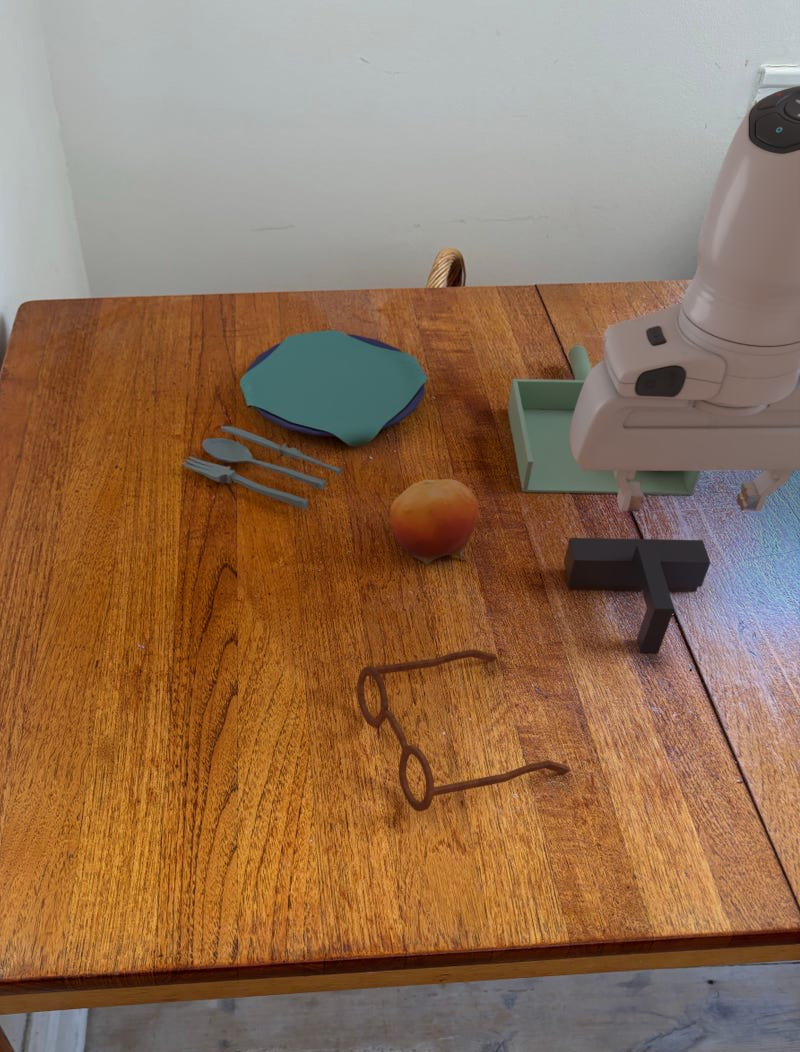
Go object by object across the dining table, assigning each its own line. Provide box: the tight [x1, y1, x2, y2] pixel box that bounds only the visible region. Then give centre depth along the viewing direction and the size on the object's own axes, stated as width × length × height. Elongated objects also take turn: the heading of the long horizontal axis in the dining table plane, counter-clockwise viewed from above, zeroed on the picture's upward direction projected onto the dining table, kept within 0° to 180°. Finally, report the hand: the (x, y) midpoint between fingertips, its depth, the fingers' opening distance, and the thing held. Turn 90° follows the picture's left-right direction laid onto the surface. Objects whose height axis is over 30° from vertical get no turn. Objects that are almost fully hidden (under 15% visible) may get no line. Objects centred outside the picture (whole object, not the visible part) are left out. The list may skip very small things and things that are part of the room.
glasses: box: [356, 648, 571, 812], centre depth 81 cm, size 13×13×5 cm
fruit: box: [390, 478, 480, 567], centre depth 97 cm, size 8×8×8 cm
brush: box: [563, 537, 711, 654], centre depth 91 cm, size 10×12×5 cm
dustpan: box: [507, 344, 701, 496], centre depth 111 cm, size 24×17×4 cm
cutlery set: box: [181, 329, 430, 511], centre depth 112 cm, size 20×30×2 cm, turn 149°
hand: (687, 506), depth 82 cm, fingers open, 8 cm apart
